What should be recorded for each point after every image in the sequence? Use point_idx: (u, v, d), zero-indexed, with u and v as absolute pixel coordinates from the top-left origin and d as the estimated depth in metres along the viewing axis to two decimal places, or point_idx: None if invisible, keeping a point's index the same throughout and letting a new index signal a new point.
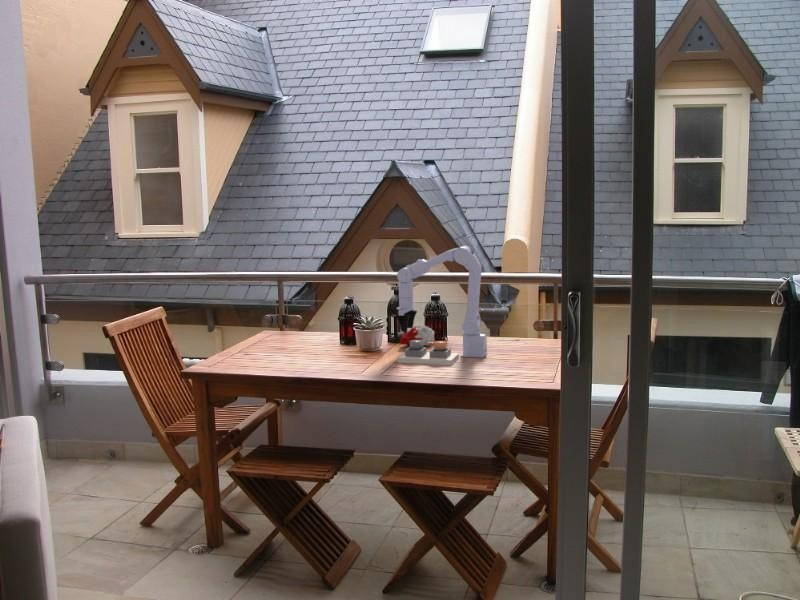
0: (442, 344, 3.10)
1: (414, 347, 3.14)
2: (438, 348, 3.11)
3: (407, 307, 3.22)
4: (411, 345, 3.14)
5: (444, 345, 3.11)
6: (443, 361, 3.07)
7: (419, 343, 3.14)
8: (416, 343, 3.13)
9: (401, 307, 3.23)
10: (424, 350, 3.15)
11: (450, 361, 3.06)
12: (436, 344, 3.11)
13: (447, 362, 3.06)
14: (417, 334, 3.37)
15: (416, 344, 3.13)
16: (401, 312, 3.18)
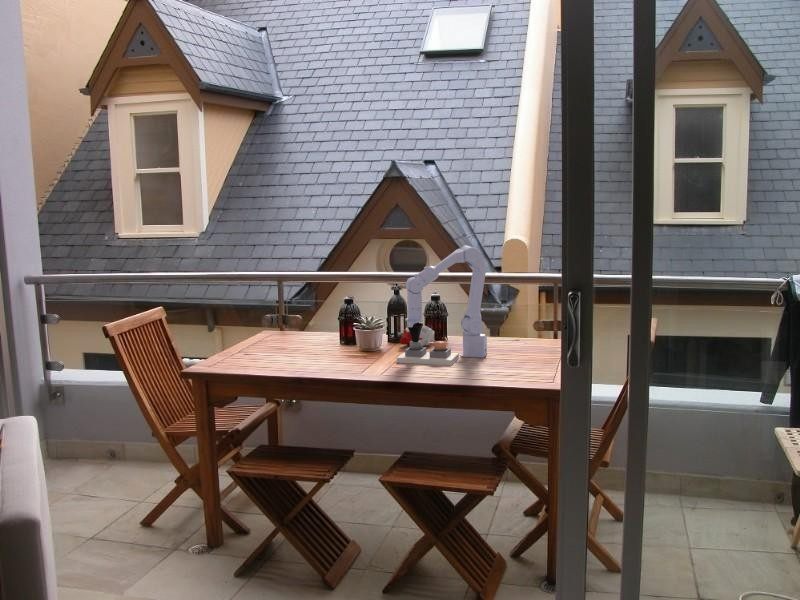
0: (442, 344, 3.10)
1: (414, 347, 3.14)
2: (438, 348, 3.11)
3: (416, 319, 3.11)
4: (411, 345, 3.14)
5: (444, 345, 3.11)
6: (443, 361, 3.07)
7: (419, 343, 3.14)
8: (416, 343, 3.13)
9: (410, 318, 3.12)
10: (424, 350, 3.15)
11: (450, 361, 3.06)
12: (436, 344, 3.11)
13: (447, 362, 3.06)
14: None
15: (416, 344, 3.13)
16: (410, 324, 3.07)
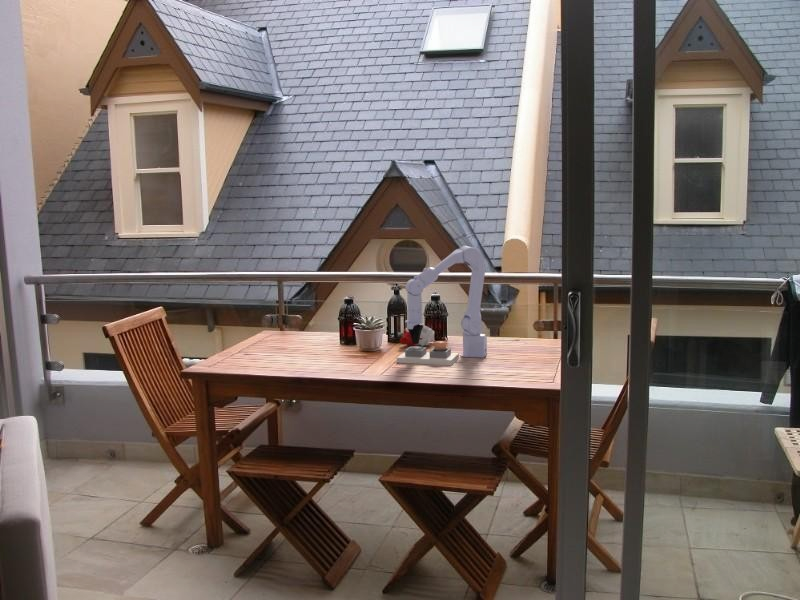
0: (442, 344, 3.10)
1: None
2: (438, 348, 3.11)
3: (416, 321, 3.11)
4: None
5: (444, 345, 3.11)
6: (443, 361, 3.07)
7: (419, 349, 3.14)
8: (416, 349, 3.14)
9: (410, 320, 3.12)
10: (424, 350, 3.15)
11: (450, 361, 3.06)
12: (436, 344, 3.11)
13: (447, 362, 3.06)
14: None
15: None
16: (410, 326, 3.07)
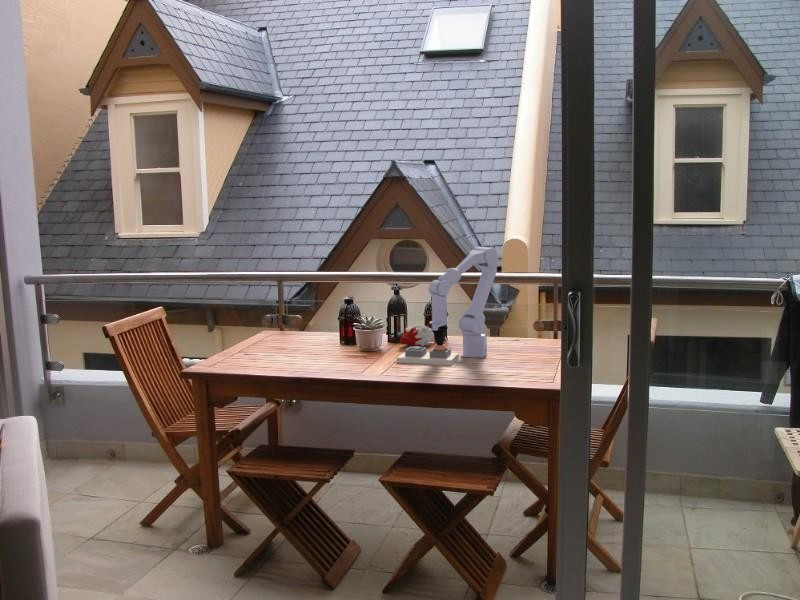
0: (442, 347, 3.10)
1: None
2: None
3: (440, 322, 3.08)
4: None
5: (444, 348, 3.11)
6: (443, 361, 3.07)
7: (419, 349, 3.14)
8: (416, 349, 3.14)
9: (434, 321, 3.09)
10: (424, 350, 3.15)
11: (450, 361, 3.06)
12: (436, 347, 3.11)
13: (447, 362, 3.06)
14: (417, 334, 3.37)
15: None
16: (435, 327, 3.04)
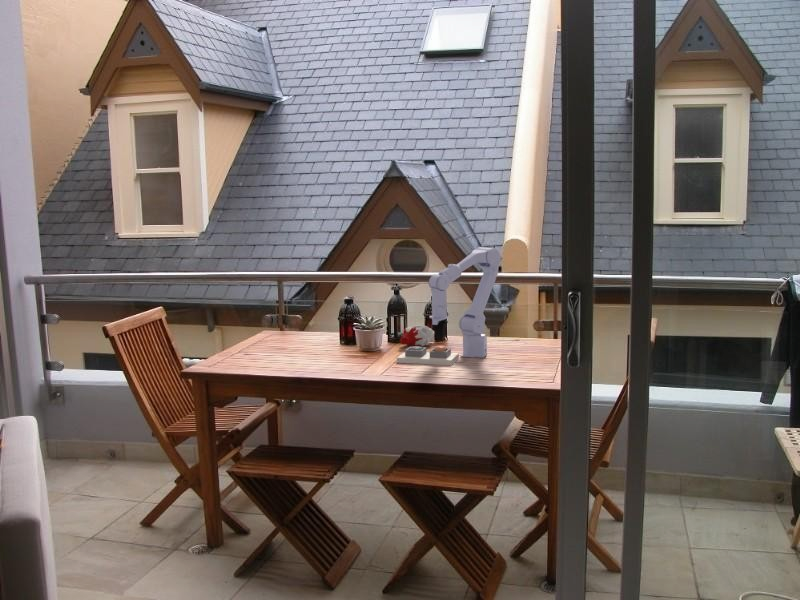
0: (442, 349, 3.11)
1: None
2: None
3: (440, 316, 3.08)
4: None
5: (444, 350, 3.11)
6: (443, 361, 3.07)
7: (419, 349, 3.14)
8: (416, 349, 3.14)
9: (434, 316, 3.09)
10: (424, 350, 3.15)
11: (450, 361, 3.06)
12: (436, 349, 3.11)
13: (447, 362, 3.06)
14: (417, 334, 3.37)
15: None
16: (435, 321, 3.04)
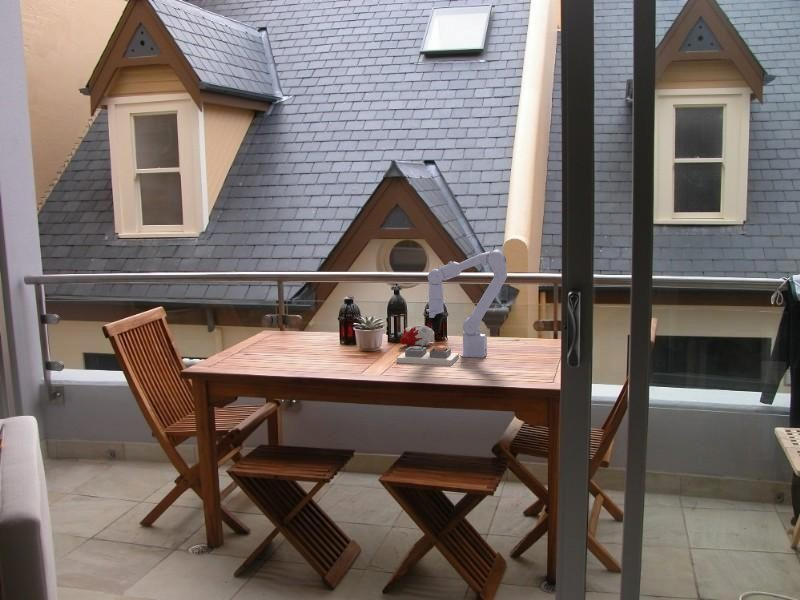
0: (442, 349, 3.11)
1: None
2: None
3: (437, 310, 3.18)
4: None
5: (444, 350, 3.11)
6: (443, 361, 3.07)
7: (419, 349, 3.14)
8: (416, 349, 3.14)
9: (431, 309, 3.19)
10: (424, 350, 3.15)
11: (450, 361, 3.06)
12: (436, 349, 3.11)
13: (447, 362, 3.06)
14: (417, 334, 3.37)
15: None
16: (432, 314, 3.14)
